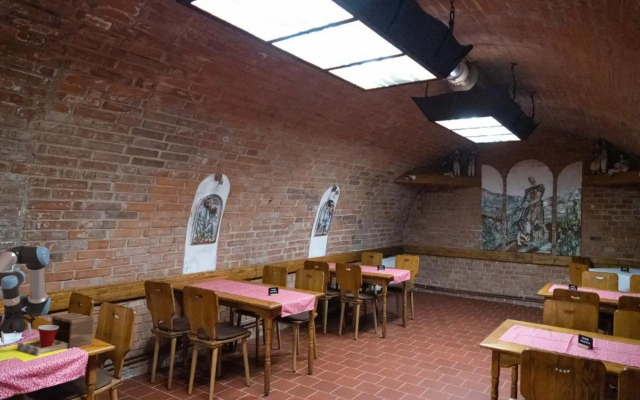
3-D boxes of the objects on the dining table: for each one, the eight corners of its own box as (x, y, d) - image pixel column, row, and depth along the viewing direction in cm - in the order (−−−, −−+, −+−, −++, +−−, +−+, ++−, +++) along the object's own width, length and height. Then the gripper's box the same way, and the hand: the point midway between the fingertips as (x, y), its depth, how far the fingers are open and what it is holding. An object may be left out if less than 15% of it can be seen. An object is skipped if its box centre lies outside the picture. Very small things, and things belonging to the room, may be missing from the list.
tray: (16, 349, 265) (17, 342, 266) (49, 343, 283) (50, 336, 283) (37, 355, 257) (38, 348, 257) (69, 348, 274) (70, 341, 274)
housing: (49, 343, 283) (52, 315, 284) (71, 339, 296) (73, 312, 297) (69, 349, 274) (72, 320, 275) (91, 344, 287) (93, 317, 288)
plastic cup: (61, 344, 276) (63, 325, 275) (47, 350, 265) (49, 330, 265) (46, 341, 278) (47, 322, 277) (31, 347, 267) (33, 327, 267)
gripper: (-13, 313, 240) (-7, 349, 245) (39, 298, 259) (43, 331, 264) (-17, 308, 244) (-12, 343, 250) (34, 293, 263) (38, 326, 269)
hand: (16, 337), depth 257 cm, fingers open, 13 cm apart
